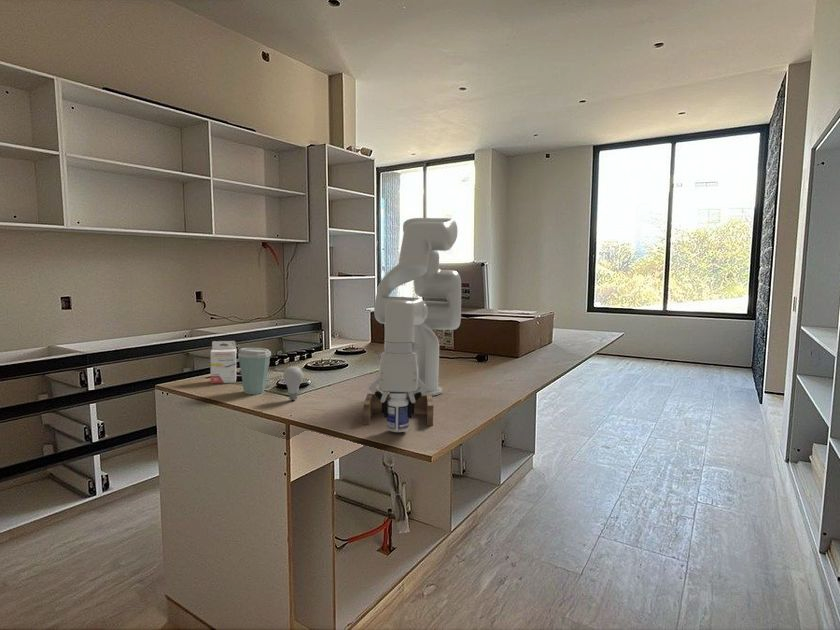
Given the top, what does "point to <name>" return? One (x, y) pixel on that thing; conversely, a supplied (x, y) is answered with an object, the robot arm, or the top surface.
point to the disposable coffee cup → (254, 369)
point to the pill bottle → (397, 412)
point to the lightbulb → (293, 380)
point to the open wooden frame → (420, 406)
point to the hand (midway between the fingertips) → (397, 415)
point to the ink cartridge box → (223, 362)
